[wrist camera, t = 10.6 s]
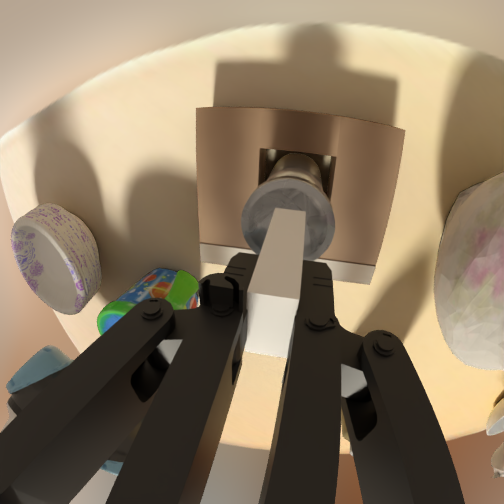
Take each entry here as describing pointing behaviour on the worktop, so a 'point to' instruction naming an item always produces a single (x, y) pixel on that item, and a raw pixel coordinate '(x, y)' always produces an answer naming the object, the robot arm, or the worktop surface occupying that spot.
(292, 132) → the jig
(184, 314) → the robot arm
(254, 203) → the metal capped cylinder
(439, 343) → the worktop surface
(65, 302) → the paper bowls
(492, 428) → the serving bowl
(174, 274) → the snack cup
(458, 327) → the ceramic pitcher
